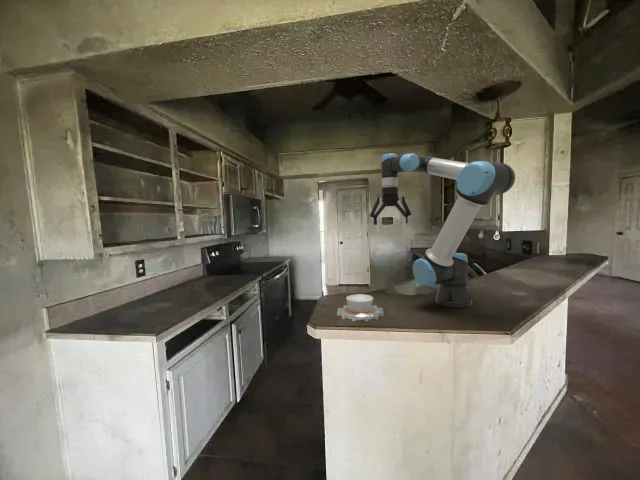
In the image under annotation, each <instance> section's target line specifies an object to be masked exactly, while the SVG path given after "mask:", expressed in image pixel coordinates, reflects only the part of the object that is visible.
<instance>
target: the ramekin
mask: <svg viewBox="0 0 640 480" xmlns="http://www.w3.org/2000/svg"><path fill="white" fill-rule="evenodd" d="M345 299H346V303H347V306H348V309H349V310H350V311H351V312H354V313H366V312H369V311H370V310H371V309H372V306H373V301H374V297H373V296H372V295H370V294H369V295H368V294H364V293H363V294H362V293H361V294H360V293H358V294H357V293H355V294H351V295H347V296H346V298H345Z"/></svg>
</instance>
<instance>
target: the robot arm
mask: <svg viewBox="0 0 640 480" xmlns="http://www.w3.org/2000/svg"><path fill="white" fill-rule="evenodd" d="M380 166H381V187H382V188H381V194H382V195H381V197H379V196H378V197H375V202H374V204H373V207H372V209H371V211H370V213H369V217H370V218H373V219H372V220H373V225H375V232H376V233H377V232H378V233H379V232H380V227H379V226H380V221H379V215H380V214H381V213H382V212H383V210H384V209H385V208H386V207H395V208H396V209H397V210H398V212H400V214H401V215H402V217H401V223H402V224H401V226H402V227H401V228H402V231H407V224H408V218H409V217H410V216H411V215H412V213H411V210H410V208H409V206H408V205H407V202H406V200H405V196H399V188H398V186H399V183H398V181H399V180H398V177H399V176H398V174H400V173H420V174H421V173H423V174H427V175H432V176H437V177H441V178H446V179H451V180H455V182H456V188H457V190H456V192H455V194H456V196H457V199H456V200H455V203H454V205H453V206H452V208H451V210H450V213H449V214H448V216H447V218H446V220H445V222H444V224H443V226H442V227H441V230H440V232H439V233H438V236H437V237H436V240H435V241H434V244H433V245H432V247H431V248H427V249H426V250H425V252H424V255H423V256H422V258H421V257H420V258H418V259H416V260H415V261H414V262H413V265H412V273H413V276H414V279H415V281H417V282H418V283H419V284H420V285H422V286H424V287H432V286H433V287H434V286H437V285H439V286H438V289H437V293H436V295H435V303H436V304H437V305H439V306H442V307H445V308H446V307H447V308H453V309H462V308H463V309H465V308H470V307H471V306H473V299H472V295H471V293H470V290H469V285H468V283H469V277H468V276H469V273H468V271H469V267H468V266H469V265H468V264H469V261H468V255H467V254H466V253H463V252H457V250H458V248H459V246H460V244H461V243H462V241H463V240H464V237H465V236H466V234H467V232H468V230H469V229H470V227H471V225H472V223H473V222H474V220H475V219H476V217H477V214H478V212H479V211H480V209H481V208H482V207H486V206H488V205H489V203H490V201H491V199H492V198H493V196H499V195H503V194H505V193H507V192H509V190H511V188H512V187H513V186H514V184H515V182H516V173H515V170H514V169H513V168H512V166H511V165H509V164H506V163H503V162H494V161H493V162H492V161H485V160H480V161H479V160H478V161H472V162H463V161H459V160H458V161H456V160H450V159H445V158H438V157H432V156H430V155H429V156H428V155H426V156H423V155H417V154H415V153H411V152H410V153H405V154H402V155H399V156H398V154H397V153H386V154H383V155H382V156H381V161H380ZM381 202H382V204H381V206H380V207H379V205H380V203H381ZM398 202H400V203H398ZM400 204H401V205H402V207H401V205H400ZM378 207H379V208H378ZM377 209H378V210H377Z"/></svg>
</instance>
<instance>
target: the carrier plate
mask: <svg viewBox="0 0 640 480" xmlns="http://www.w3.org/2000/svg"><path fill="white" fill-rule="evenodd" d="M336 315H337V316H338V317H341V319H342V320H350V321H352V322H356V321H360V322H361V321H362V322H363V321H364V322H369V321H371V320H379V317H384V315H385V313H384V309H383V307H378V305H372V309H371V310H370V311H369V312H366V313H354V312H351V311H350V310H349V309H348V304H347V305H346V304H345V305H343V306H342V307H338V308H337V312H336Z"/></svg>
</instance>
